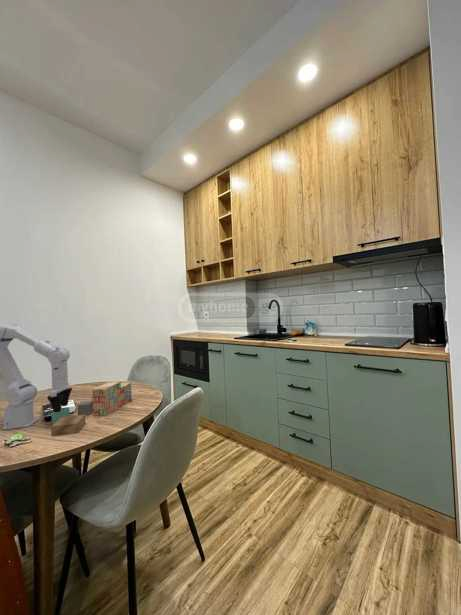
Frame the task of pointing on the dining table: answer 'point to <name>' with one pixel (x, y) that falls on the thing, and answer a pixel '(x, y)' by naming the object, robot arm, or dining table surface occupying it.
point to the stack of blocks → (110, 397)
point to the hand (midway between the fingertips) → (60, 408)
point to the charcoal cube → (85, 408)
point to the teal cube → (60, 414)
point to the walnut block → (68, 425)
